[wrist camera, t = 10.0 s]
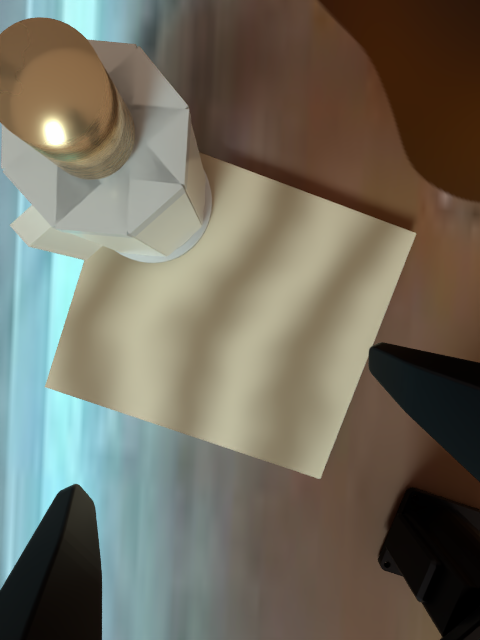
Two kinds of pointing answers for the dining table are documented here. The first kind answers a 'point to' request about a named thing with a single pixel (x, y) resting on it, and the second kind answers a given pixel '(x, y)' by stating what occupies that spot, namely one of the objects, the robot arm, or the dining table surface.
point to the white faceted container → (120, 178)
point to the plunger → (63, 99)
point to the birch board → (239, 322)
